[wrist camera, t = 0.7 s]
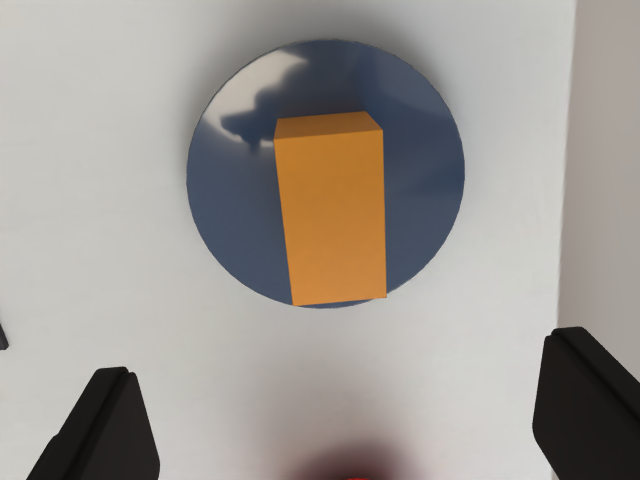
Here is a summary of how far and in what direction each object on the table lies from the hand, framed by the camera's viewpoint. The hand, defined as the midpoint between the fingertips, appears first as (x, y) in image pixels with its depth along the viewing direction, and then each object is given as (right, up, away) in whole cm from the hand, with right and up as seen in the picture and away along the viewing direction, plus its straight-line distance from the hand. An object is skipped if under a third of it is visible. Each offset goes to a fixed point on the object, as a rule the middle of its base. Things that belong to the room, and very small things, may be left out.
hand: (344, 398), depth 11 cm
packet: (0, +6, +15) cm, 16 cm away
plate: (0, +7, +16) cm, 17 cm away
